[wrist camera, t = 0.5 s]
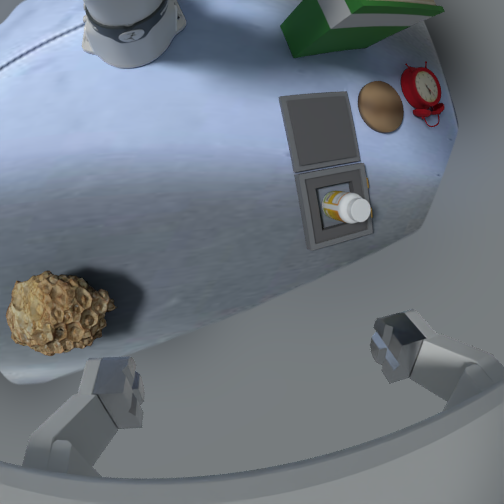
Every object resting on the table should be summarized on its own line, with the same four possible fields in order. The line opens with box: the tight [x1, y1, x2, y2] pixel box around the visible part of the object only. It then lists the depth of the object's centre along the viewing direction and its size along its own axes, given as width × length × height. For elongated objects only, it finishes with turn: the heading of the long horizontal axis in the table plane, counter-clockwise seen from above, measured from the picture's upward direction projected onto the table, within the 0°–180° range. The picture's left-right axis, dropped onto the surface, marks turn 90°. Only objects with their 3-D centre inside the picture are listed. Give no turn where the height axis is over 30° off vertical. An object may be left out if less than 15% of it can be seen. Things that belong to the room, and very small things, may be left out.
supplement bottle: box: [322, 191, 371, 224], centre depth 55 cm, size 5×5×10 cm
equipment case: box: [279, 91, 373, 251], centre depth 57 cm, size 28×15×2 cm, turn 12°
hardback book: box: [280, 0, 444, 58], centre depth 40 cm, size 18×7×24 cm, turn 110°
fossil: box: [6, 271, 117, 356], centre depth 46 cm, size 23×14×15 cm, turn 102°
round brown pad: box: [358, 81, 404, 133], centre depth 57 cm, size 11×11×2 cm
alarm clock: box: [401, 62, 444, 127], centre depth 57 cm, size 10×6×15 cm
